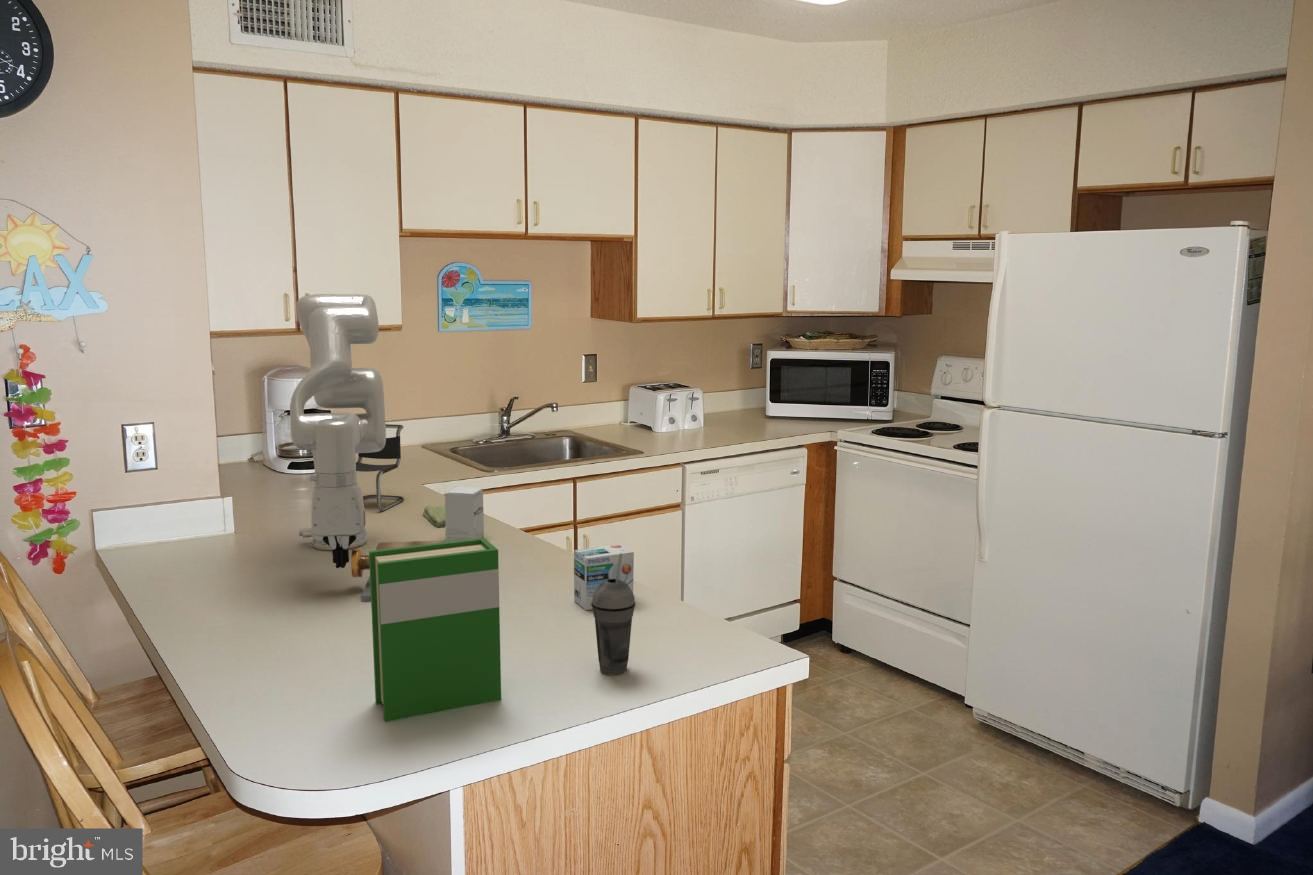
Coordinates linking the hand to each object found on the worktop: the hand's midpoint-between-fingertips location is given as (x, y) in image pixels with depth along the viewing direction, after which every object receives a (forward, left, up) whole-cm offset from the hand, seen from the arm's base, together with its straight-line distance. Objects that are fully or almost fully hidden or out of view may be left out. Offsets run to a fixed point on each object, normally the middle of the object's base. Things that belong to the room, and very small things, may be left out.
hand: (341, 566), depth 201 cm
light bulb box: (+53, -15, -5) cm, 55 cm away
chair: (-3, +76, -5) cm, 76 cm away
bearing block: (+16, 0, -5) cm, 17 cm away
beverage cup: (+51, -49, -5) cm, 71 cm away
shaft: (+12, 0, -2) cm, 13 cm away
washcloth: (+20, +58, -6) cm, 61 cm away
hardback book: (+23, -57, -5) cm, 62 cm away
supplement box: (+24, +36, -5) cm, 44 cm away
